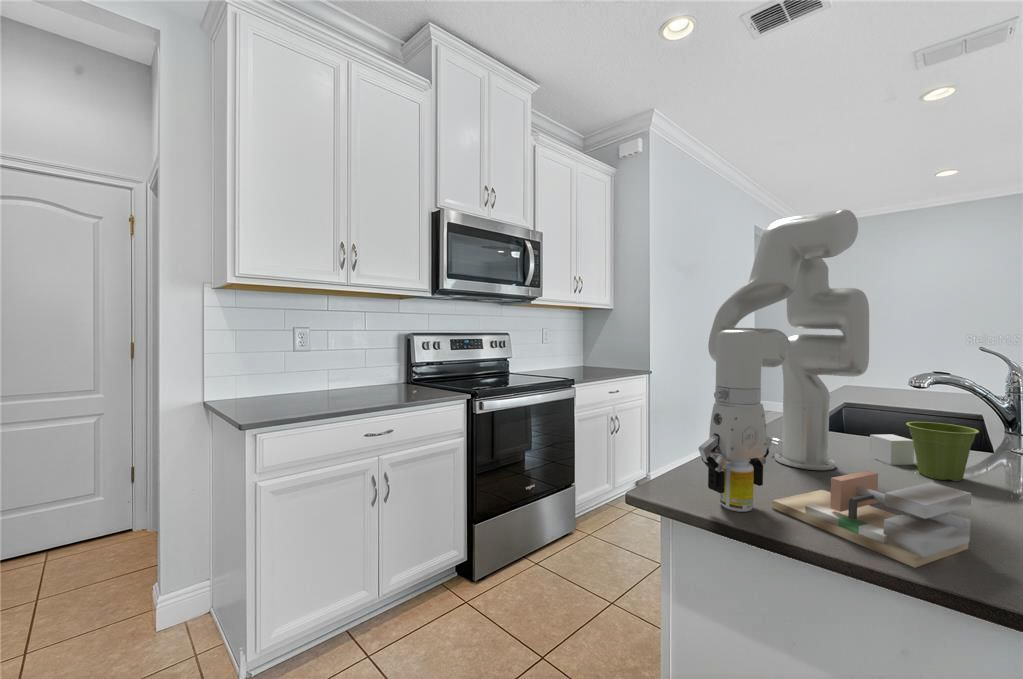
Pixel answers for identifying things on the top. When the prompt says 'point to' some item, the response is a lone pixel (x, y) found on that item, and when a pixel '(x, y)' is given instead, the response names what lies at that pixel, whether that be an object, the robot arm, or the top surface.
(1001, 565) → the top surface
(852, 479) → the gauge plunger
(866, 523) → the frame
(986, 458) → the top surface
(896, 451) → the white cube
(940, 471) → the plant pot
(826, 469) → the robot arm
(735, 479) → the supplement bottle
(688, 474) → the top surface
